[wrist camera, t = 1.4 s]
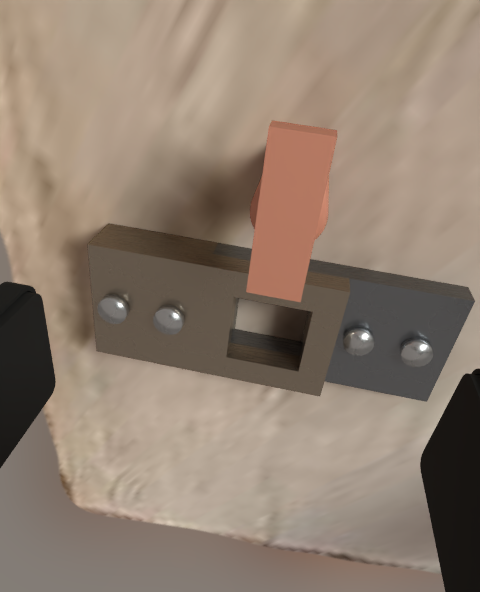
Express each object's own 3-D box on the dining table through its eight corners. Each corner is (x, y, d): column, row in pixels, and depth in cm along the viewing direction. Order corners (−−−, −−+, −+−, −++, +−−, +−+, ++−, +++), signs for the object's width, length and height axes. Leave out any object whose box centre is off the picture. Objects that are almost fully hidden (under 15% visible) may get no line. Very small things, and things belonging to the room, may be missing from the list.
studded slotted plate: (468, 287, 26) (485, 322, 23) (422, 385, 31) (432, 426, 28) (108, 223, 28) (82, 248, 25) (114, 324, 33) (92, 356, 30)
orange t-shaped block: (343, 99, 22) (348, 138, 16) (315, 228, 26) (309, 304, 20) (279, 90, 23) (258, 124, 16) (261, 219, 26) (237, 290, 20)
